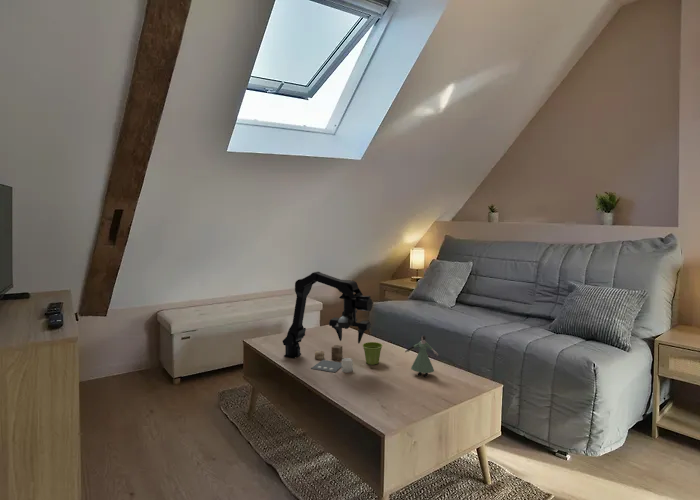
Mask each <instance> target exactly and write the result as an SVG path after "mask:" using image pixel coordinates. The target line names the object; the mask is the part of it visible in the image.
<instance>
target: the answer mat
mask: <svg viewBox="0 0 700 500" xmlns="http://www.w3.org/2000/svg"><path fill="white" fill-rule="evenodd" d="M310 369H311V370H316V371H320V372H321V371H323V372H329V373H337V372H338V371H339V370H340V369H342V361H341V362H339V361H333V360H328V359H327V360H326V359H322V360H319V362H318V363H316V364H314V365H313V366H312V367H311V368H310Z"/></svg>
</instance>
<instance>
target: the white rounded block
mask: <svg viewBox="0 0 700 500" xmlns="http://www.w3.org/2000/svg"><path fill="white" fill-rule="evenodd" d="M353 361H354V360H353V358H349V357H345V358H341V363H342V367H341V372H342V373H346V374H349V373H353V371H354V367H353V365H354V363H353Z"/></svg>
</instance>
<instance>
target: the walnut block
mask: <svg viewBox="0 0 700 500" xmlns="http://www.w3.org/2000/svg"><path fill="white" fill-rule="evenodd" d="M342 359H343V345H339V344H334V345H332V346H331V360H335V361H340V360H342Z"/></svg>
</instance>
